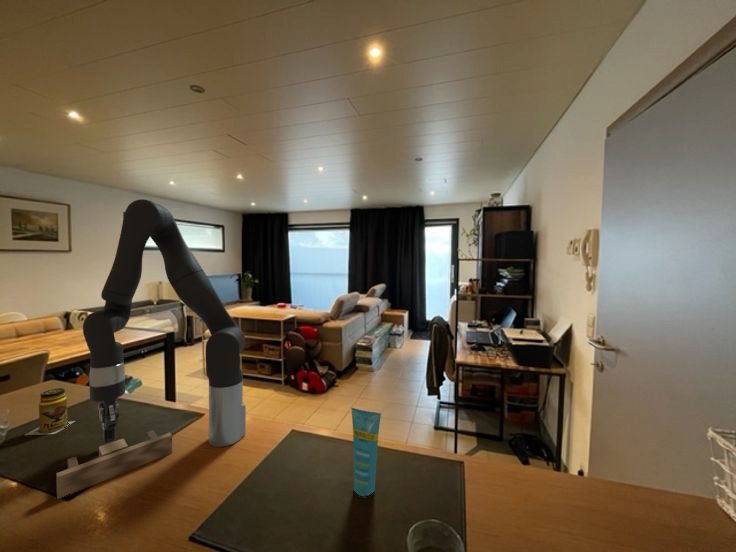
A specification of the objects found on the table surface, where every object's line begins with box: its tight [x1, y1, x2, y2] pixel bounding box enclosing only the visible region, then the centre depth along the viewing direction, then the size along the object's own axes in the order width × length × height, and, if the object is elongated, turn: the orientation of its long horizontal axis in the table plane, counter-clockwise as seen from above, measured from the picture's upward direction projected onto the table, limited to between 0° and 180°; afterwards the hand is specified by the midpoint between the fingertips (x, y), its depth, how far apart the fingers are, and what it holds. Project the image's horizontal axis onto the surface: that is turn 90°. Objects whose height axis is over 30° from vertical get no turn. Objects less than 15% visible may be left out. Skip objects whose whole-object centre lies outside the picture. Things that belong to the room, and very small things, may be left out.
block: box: [98, 438, 129, 458], centre depth 77 cm, size 5×5×5 cm
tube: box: [350, 407, 382, 496], centre depth 69 cm, size 7×5×19 cm, turn 72°
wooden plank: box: [56, 429, 173, 500], centre depth 77 cm, size 22×9×5 cm, turn 140°
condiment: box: [24, 387, 76, 436], centre depth 93 cm, size 7×8×12 cm
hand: (109, 440), depth 84 cm, fingers closed
